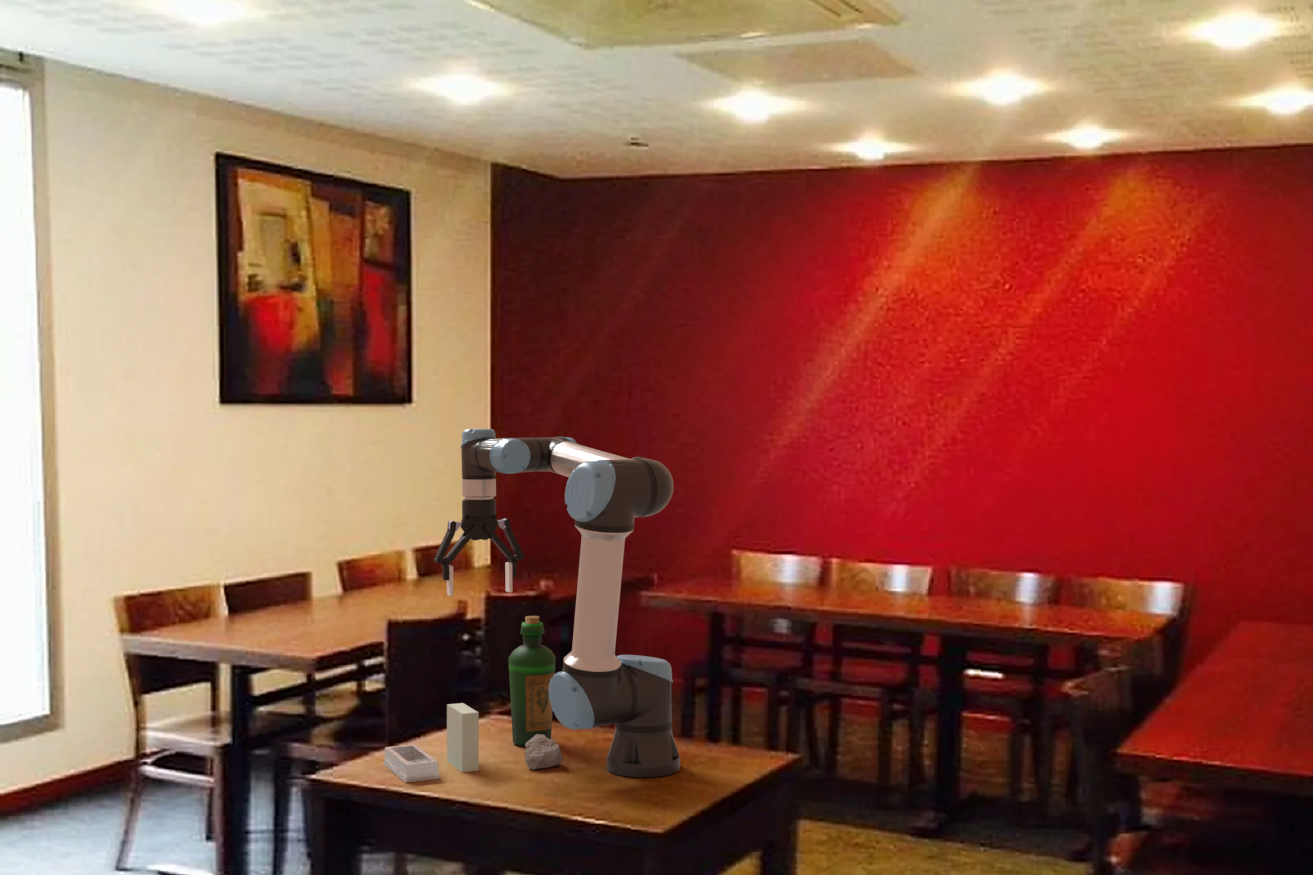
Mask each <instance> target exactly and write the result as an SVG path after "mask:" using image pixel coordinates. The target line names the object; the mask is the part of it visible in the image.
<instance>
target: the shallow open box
mask: <svg viewBox="0 0 1313 875" xmlns="http://www.w3.org/2000/svg"><path fill="white" fill-rule="evenodd" d="M383 765H384V766H385V767H386V768H387V769H389V770H390V771H391V772H392V773H393V774H395V776H397V777H398V778H399V779H400V780H401V781H403V782H404V783H405V784H407V783H414V782H415V783H417V782H424V781H432V780H440V773H439V761H438V760H437V759H436V758H434V757H433V756H432V755H430V754H429V753H427V752H426V751H425V750H424V749H422V748H421V747H419V745H417V744H415V743H413V744H405V745H404V744H402V745H395V746H394V745H393V746H385V747H384V759H383Z"/></svg>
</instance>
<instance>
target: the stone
mask: <svg viewBox="0 0 1313 875" xmlns="http://www.w3.org/2000/svg"><path fill="white" fill-rule="evenodd" d="M525 746H526V747H525V750H524V752H523V753H524V762H525V763H526V764H527V768H529V769H531V770H537V769H547V768H551V767H556V766H559V765H560V764H562V762H563V756H562V751H561V749H560V745H559V743H556V740H555V739H554V738H551V739H548V738H546V736H545V735H543V734H542V735H540V734H536V735H535V736H534V737H533V738H532V739H530V740H529V741H527V742H526V744H525Z"/></svg>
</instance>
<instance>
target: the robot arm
mask: <svg viewBox="0 0 1313 875" xmlns="http://www.w3.org/2000/svg"><path fill="white" fill-rule="evenodd" d="M460 450H461V497H463V499H462V501H461V513H462V514H461V515H462V516H461V521H455V520H448V522H447V530H446V532H445V534H444V536H443V539H442V541H441V543H440V544H439V547H438V549H437V551H436V554H435V555H434V558H433V562H434V563H436V564H439V565H441V568H442V570H441V571H442V572H441V573H442V574H441V576H442V580H443V581H446V595H447V596H449V597H453V596H454V566H453V565H451V564H452V562H454V560H455V558H457V556H458V555H459V553H460V552H461V551H462V550H463V548H464V547H466V545H467V543H469V542H470V541H480V540H483V541H487V540H490V541H492V543H493V544H494V545H495V546H496V547H497V549H498V550H499V551H500V552H501V553H502V555H504V557H505V558H506V559H507V560H508V561H507V562H505V564H504V568H505V569H504V572H505V583H504V584H505V592H507V593H513V578H516V577H517V563H518V562H519V561H522V560H524V559H525V554H524V553H523V549H522V548H521V546H520V544H519V542H518V540H517V537H516V536H515V534H514V532H513V530H512V526H511V520H510V519H509V518H502V519H497V500H496V499H495V497H496V496H497V474H496V473H499V474H505V475H508V474H511V475H512V474H513V475H514V474H520V473H533V472H535V473H536V472H550V473H553V474H557V475H561V476H564V477H566V478H568V479H567V482H566V486H565V491H564V503H565V505H566V506H567V507H566V510H567V512H568V515H569V516H570V517H571V519H573V520H574V527H575V529H577V531H578V532H579V533H580V535H581V538H580V539H581V540H580V542H581V543H580V552H579V563H578V573H577V574H578V575H577V587H576V589H577V590H576V596H575V599H576V600H575V610H574V611H575V612H574V623H573V632H572V633H573V636H572V644H571V645H572V648H571V651H570V652H569V653H567V655H565V656H564V657H563V661H562V662H563V663H562V671H557V672H555V675H554V676H553V678H551V680H550V683H549V699H550V704H551V707H552V710H553V712H554V716H555V717H556V719H557V720H558V721H559V723H560V724H561V725H562V726H564V727H566V728H567V729H569V730H573V731H575V730H582V729H583V730H591V729H593V728H598V727H603V726H608V725H613V724H615V729H614V730H615V731H614V734H613V738H612V740H611V744H610V747H609V750H608V754H607V757H606V770H607V771H608V772H610V773H612V774H614V775H618V776H623V777H629V778H630V777H632V778H656V777H663V776H669V775H673V774H675V773H678V771H680V770H681V756H680V753H679V750H678V746H677V744H676V741H675V738H674V733H673V729H672V728H673V725H672V724H673V720H672V719H673V718H672V717H673V716H672V715H673V711H672V710H673V709H672V708H673V697H672V696H673V682H674V680H673V671H672V670H673V669H672V665H671V663H670V662H669V661H667V660H666V659H664V658H658V657H655V656H654V657H653V656H648V655H647V656H646V655H636V654H620V655H616V643H617V631H618V622H619V611H620V610H619V608H620V600H621V598H620V597H621V588H622V587H621V586H622V575H623V565H624V555H625V543H626V538H627V537H629V535H631V533H633V532H634V529H635V520H636V519H635V518H647V517H651V516H654V515H655V514H658V513H660V512H661V511H662V510H664V509H665V508H666V507H667V506H668V504H669V503H670V501H671V499H672V496H673V494H674V489H675V488H674V479H673V476H672V474H671V472H670V470H669V469H668V468H667V467H666V465H664V464H663V463H662V462H660V461H657V460H655V459H650V458H647V457H643V456H642V457H641V456H636V457H632V458H628V457H624V456H621V455H618V454H614V453H610V452H606V451H602V450H599V449H596V448H592V447H588V446H586V445H581V444H579V443H578V442H576V440H575V439H574V438H573V437H568V436H567V437H566V436H553V437H552V436H551V437H550V436H548V437H498V438H497V436H496V431H495V430H494V429H493V428H467V429H464V430H463V431H462V433H461V445H460ZM498 526H499V528H500V529H502V532H503V533H504V535H505V537H506V539H507V541H508V543H509V545H510V547H511V549H512V552H511V550H510V549H509V547H507V546H506V544H505V543H504V542H503V540H502V539H501V538H500V537H499V535H498V534H497V533H496V532H495V531H496V530H497V528H498ZM459 528H461V530H462V531H463V533H462V534H461V535H460V537H459V539H458V540H457V541H456V543H455V544H454V545H453V546H452V547H451V549H450V550H449V552H448V553H447V551H448V549H449V548H450V545H451V543H452V541H453V538H454V537H455V534H456V532H457V531H459ZM513 553H514V554H513Z"/></svg>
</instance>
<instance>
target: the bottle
mask: <svg viewBox="0 0 1313 875" xmlns="http://www.w3.org/2000/svg"><path fill="white" fill-rule="evenodd" d="M524 619H525V621H522V622H521V626H520V627H521V628H520V631H519V634H520V635H522V643H523V644H522V645H519V646H518V647H516V648H515V649H514V650H513V651H512V652H511V653H510V655H509V657H508V660H507V661H508V673H509V674H508V676H509V679H508V680H509V694H510V697H509V698H510V711H511V712H510V713H511V714H510V715H511V733H512V734H511V735H512V743H513V744H515V745H517V746H520V747H523V746H524V747H525V748H526V746H525V744H526V742H527V741H529V740H530V739H532V738H533V737H534V736H535V735H536V734H540V735H542V734H543V735H545V736H546V738H548V739H552V729H553V728H552V727H553V712H554V711H553V710H552V707H551V704H550V699H549V683H550V680H551V678H553V676H554V675H555V674H556V658H557V657H556V656H555V654H554V652H553V650H552V649H550V648H549V647H547V646H546V645H543V644H542V636H543V634H545V628H544V624H543V621H542V622H541V621H540V616H539V615H526V616H525V617H524Z"/></svg>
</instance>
